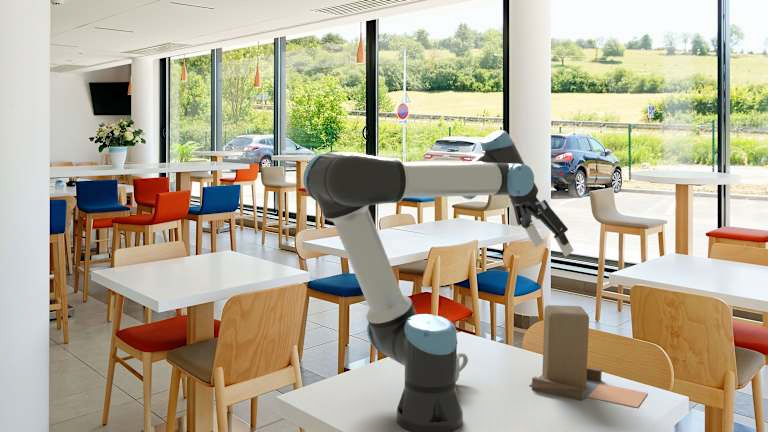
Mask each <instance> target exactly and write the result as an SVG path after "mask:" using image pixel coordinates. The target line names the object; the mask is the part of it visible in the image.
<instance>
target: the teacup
mask: <svg viewBox="0 0 768 432" xmlns="http://www.w3.org/2000/svg"><path fill="white" fill-rule="evenodd" d="M461 358H462V362H461V364H460V359H461ZM468 358H469V357H468V355H466V353H463V352H459V353H456V383H457V381H458V380H459V377H460V372H461V371H463V370H464V369H465V367H466V366H467V365H468V362H469V359H468Z"/></svg>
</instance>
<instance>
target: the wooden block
mask: <svg viewBox="0 0 768 432" xmlns="http://www.w3.org/2000/svg"><path fill="white" fill-rule="evenodd" d="M543 316H544V319H543V345H542V347H543V350H542V351H543V352H542V371H541V372H542V374H543V376H544V379H548V380H553V381H558V382H562V383H567V384H572V385H577V386H582V387H584V389H585V387H586V379H587V367H588V353H589V348H588V347H589V328H590V317H589V315H588V313H587V312H586V310H585V309H584V308H583V306H580V305H560V304H559V305H549V304H547V305H545V307H544V315H543Z"/></svg>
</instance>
